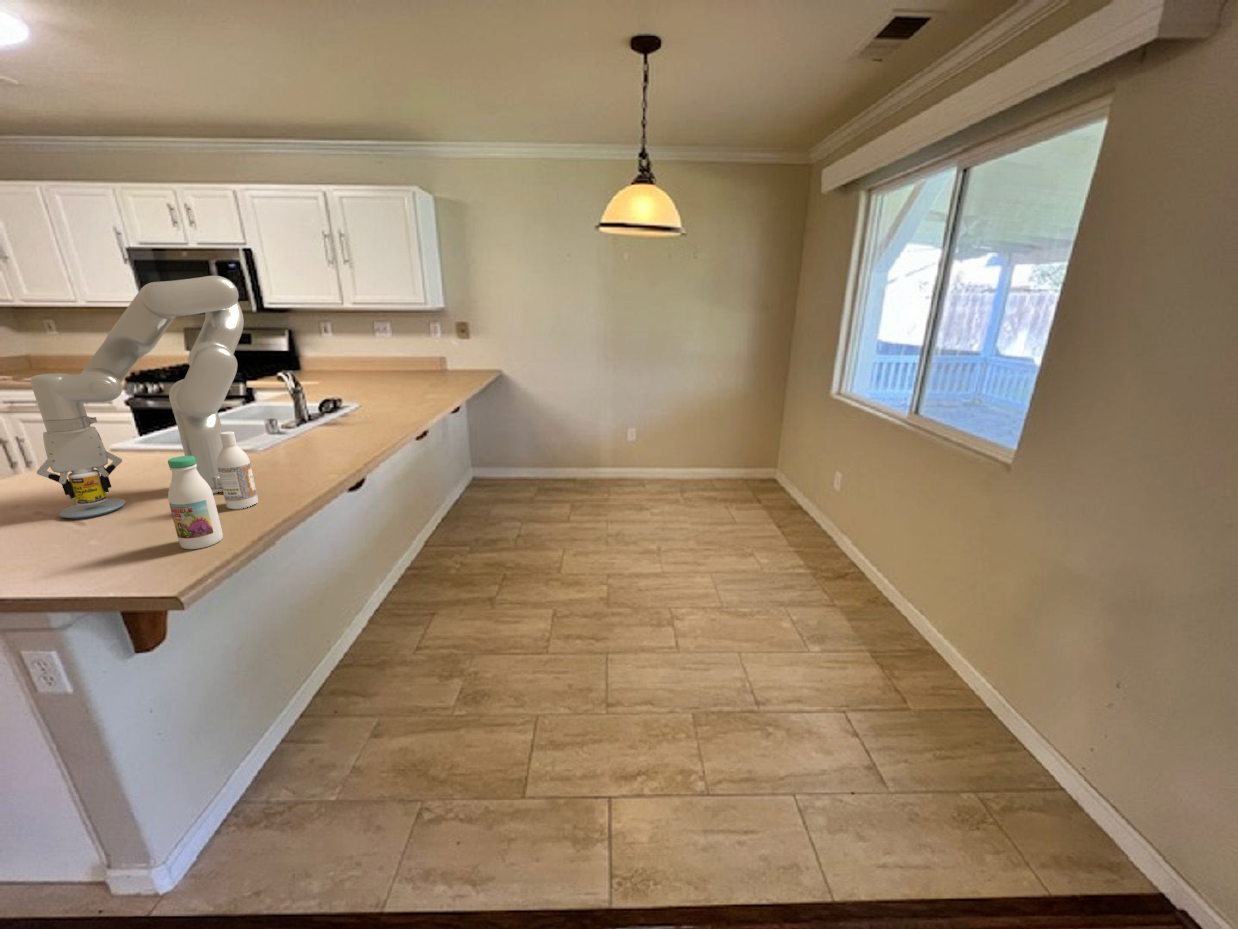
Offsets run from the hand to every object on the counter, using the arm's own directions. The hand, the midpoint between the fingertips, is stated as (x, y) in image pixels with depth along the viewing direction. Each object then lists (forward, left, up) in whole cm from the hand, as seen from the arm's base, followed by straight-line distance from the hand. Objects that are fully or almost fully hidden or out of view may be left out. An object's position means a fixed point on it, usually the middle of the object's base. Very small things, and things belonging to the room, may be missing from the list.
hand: (89, 493), depth 131 cm
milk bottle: (-44, +6, -5) cm, 45 cm away
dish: (0, 0, -5) cm, 5 cm away
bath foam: (-32, -14, -5) cm, 35 cm away
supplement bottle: (0, 0, -3) cm, 3 cm away
